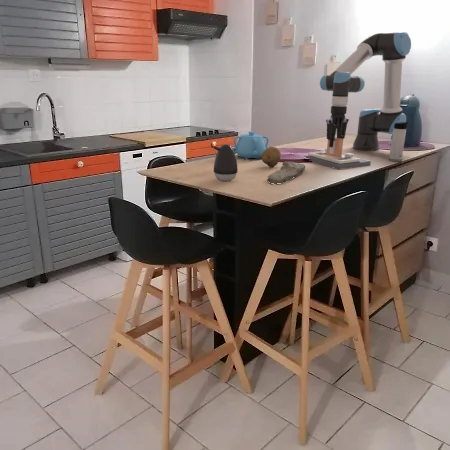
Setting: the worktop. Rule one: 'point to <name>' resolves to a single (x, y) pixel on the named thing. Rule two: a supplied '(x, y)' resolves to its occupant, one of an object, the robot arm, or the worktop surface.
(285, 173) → the long grey stone
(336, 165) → the boss board
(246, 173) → the worktop surface
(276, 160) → the brown round lump
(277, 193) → the worktop surface
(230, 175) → the pump dispenser
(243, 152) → the decorative pot
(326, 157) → the keyhole plate
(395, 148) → the travel mug
